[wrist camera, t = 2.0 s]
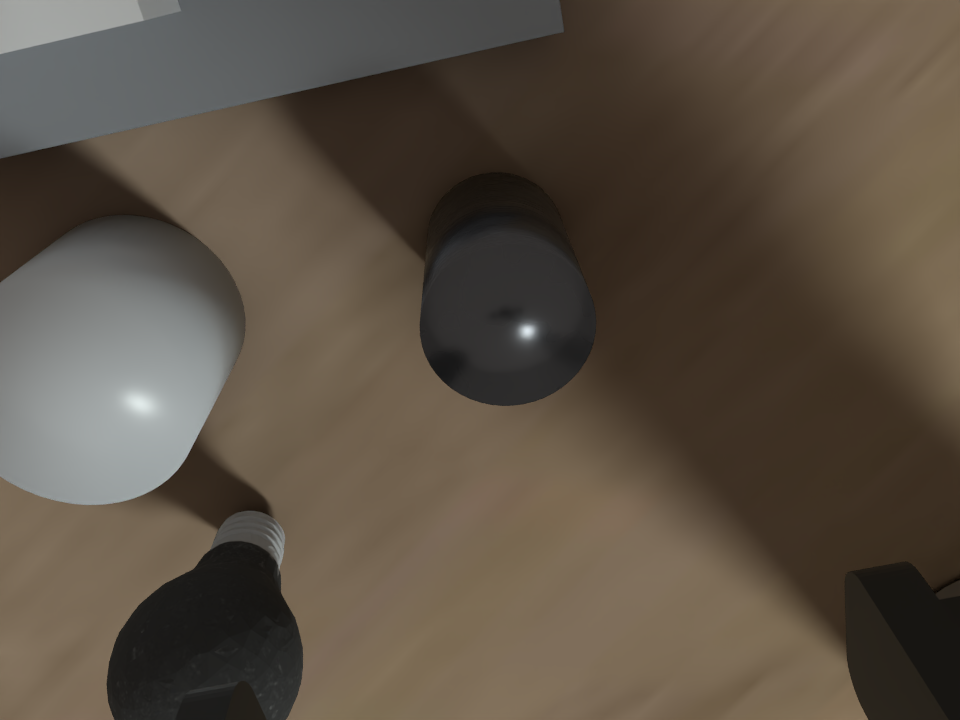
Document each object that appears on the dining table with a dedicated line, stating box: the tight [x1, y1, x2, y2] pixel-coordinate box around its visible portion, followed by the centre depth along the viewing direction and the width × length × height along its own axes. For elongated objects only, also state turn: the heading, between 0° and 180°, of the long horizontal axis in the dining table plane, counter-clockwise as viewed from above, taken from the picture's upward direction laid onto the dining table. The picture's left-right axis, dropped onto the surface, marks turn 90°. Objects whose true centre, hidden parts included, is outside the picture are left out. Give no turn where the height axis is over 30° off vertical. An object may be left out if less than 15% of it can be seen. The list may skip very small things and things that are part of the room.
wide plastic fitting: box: [0, 215, 245, 505], centre depth 26 cm, size 7×7×6 cm
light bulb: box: [107, 511, 303, 720], centre depth 28 cm, size 6×6×10 cm
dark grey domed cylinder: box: [420, 173, 596, 406], centre depth 24 cm, size 4×4×7 cm
